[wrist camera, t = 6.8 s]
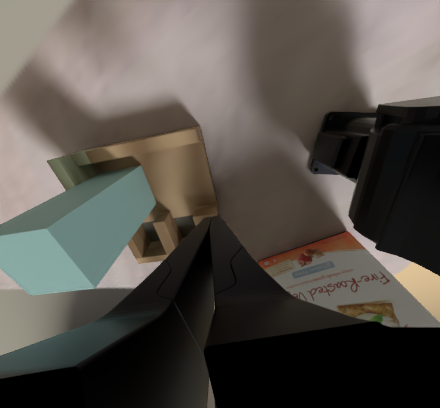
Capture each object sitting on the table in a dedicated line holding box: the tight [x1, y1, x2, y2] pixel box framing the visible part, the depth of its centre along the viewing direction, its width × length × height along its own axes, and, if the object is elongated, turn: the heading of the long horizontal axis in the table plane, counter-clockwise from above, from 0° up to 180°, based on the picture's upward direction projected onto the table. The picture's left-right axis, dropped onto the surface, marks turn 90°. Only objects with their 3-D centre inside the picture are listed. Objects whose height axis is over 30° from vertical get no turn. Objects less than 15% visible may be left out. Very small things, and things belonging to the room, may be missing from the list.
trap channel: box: [47, 126, 219, 264], centre depth 21 cm, size 14×15×5 cm
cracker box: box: [258, 231, 440, 327], centre depth 19 cm, size 14×6×21 cm, turn 118°
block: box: [0, 165, 157, 295], centre depth 16 cm, size 5×5×12 cm
